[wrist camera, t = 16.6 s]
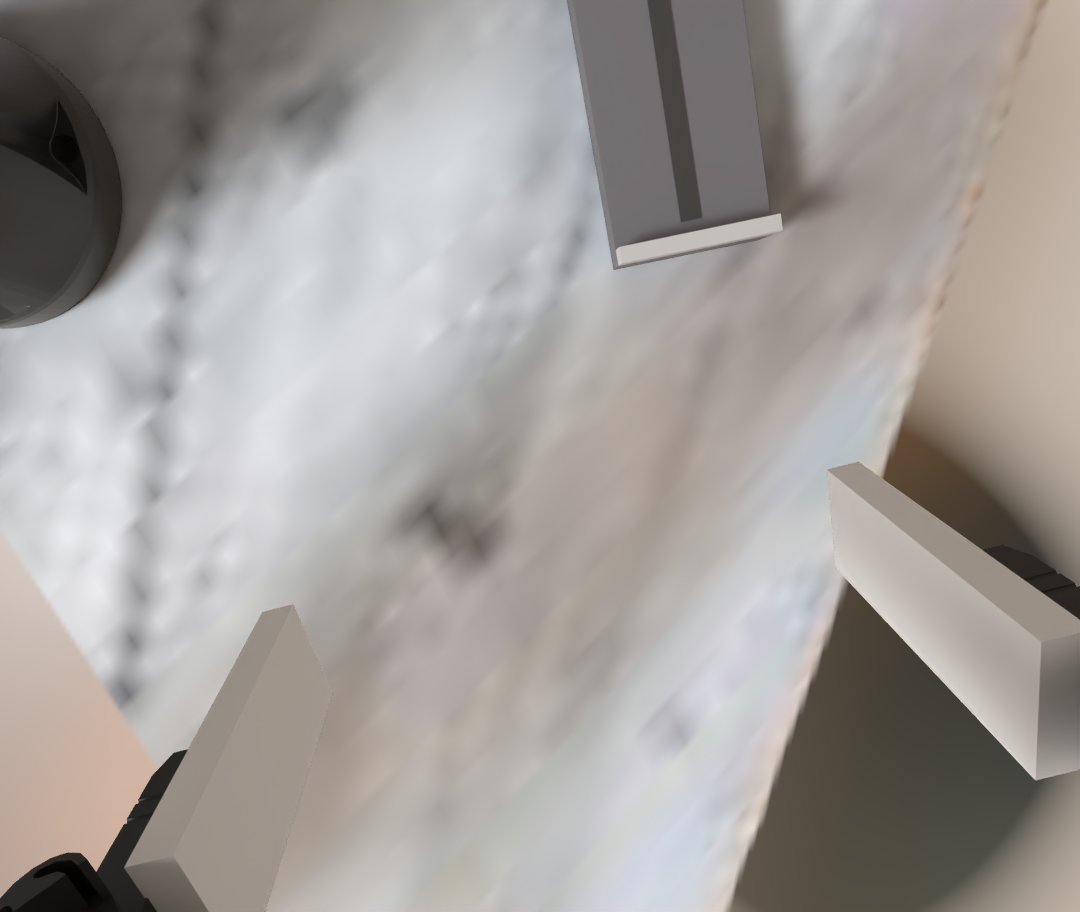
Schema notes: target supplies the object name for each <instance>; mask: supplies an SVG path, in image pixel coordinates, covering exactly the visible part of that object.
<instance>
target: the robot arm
mask: <svg viewBox="0 0 1080 912" xmlns="http://www.w3.org/2000/svg"><path fill="white" fill-rule="evenodd" d="M121 209H122V200H121V185H120V179H119V173H118V168H117V164H116V160H115V157H114V154H113V151H112V148H111V145H110V143H109V140H108V138H107V136H106V133H105V131H104V129H103V127H102V125H101V123H100V122H99V120H98V118H97V116H96V115H95V113H94V112H93V110H92V109H91V107H90V106H89V104H88V103H87V101H86V100H85V99H84V98H83V96H82V95H81V94H80V93H79V91H78V90H77V89H76V88H75V87H74V86H73V85H72V84H71V83H70V82H69V81H68V80H67V79H66V78H65V77H64V76H63V75H62V74H61V73H60V72H58V71H57V70H56V69H55V68H54V67H52V66H51V65H50V64H48V63H47V62H46V61H44V60H43V59H41V58H40V57H38V56H36V55H35V54H33V53H31V52H29V51H28V50H26V49H24V48H22V47H20V46H18V45H16V44H14V43H12V42H10V41H9V40H7V39H5V38H3V37H1V36H0V328H17V327H25V326H30V325H34V324H37V323H41V322H44V321H46V320H49V319H52V318H54V317H56V316H58V315H60V314H62V313H63V312H65V311H67V310H68V309H70V308H71V307H72V306H74V305H75V304H77V303H78V302H79V301H80V300H81V299H82V298H83V297H84V296H85V295H86V294H87V293H88V292H89V291H90V290H91V289H92V288H93V287H94V285H95V284H96V283H97V281H98V280H99V279H100V277H101V276H102V274H103V272H104V271H105V269H106V267H107V265H108V263H109V261H110V259H111V256H112V254H113V251H114V248H115V245H116V242H117V238H118V233H119V229H120V221H121ZM827 478H828V489H829V500H830V511H831V522H832V533H833V544H834V555H835V565H836V569H837V570H838V571H839V572H840V573H841V574H842V575H843V576H844V577H845V578H846V579H847V580H848V581H849V582H850V583H851V584H852V586H853V587H854V588H855V589H856V590H857V591H858V592H859V593H860V594H861V595H862V596H863V597H864V598H865V599H866V600H867V602H868V603H869V604H870V605H871V606H872V607H873V608H874V609H875V610H876V611H877V612H878V613H879V614H880V615H881V616H882V618H884V620H885V621H886V622H887V623H888V624H889V625H890V626H891V627H892V628H893V629H894V630H895V631H896V632H897V633H898V634H899V635H900V637H901V638H902V639H903V640H904V641H905V642H906V643H907V644H908V645H909V646H910V647H911V648H912V649H913V650H914V652H915V653H916V654H917V655H918V656H919V657H920V658H921V659H922V660H923V661H924V662H925V663H926V664H927V665H928V666H929V667H930V669H931V670H932V671H933V672H934V673H935V674H936V675H937V676H938V677H939V678H940V679H941V680H942V681H943V682H944V683H945V685H947V686H948V688H949V689H950V690H951V691H952V692H953V693H954V694H955V695H956V696H957V697H958V698H959V699H960V700H961V702H962V703H963V704H964V705H965V706H966V707H967V708H968V709H969V710H970V711H971V712H972V713H973V714H974V715H975V716H976V718H978V720H979V721H980V722H981V723H982V724H983V725H984V726H985V727H986V728H987V729H988V730H989V731H990V732H991V733H992V735H993V736H994V737H995V738H996V739H997V740H998V741H999V742H1000V743H1001V744H1002V745H1003V746H1004V747H1005V748H1006V749H1007V750H1008V752H1009V753H1010V754H1011V755H1012V756H1013V757H1014V758H1015V759H1016V760H1017V761H1018V762H1019V763H1020V764H1021V765H1022V766H1023V767H1024V768H1025V770H1026V771H1027V772H1028V773H1029V774H1030V775H1031V776H1032V777H1033V778H1034V779H1035V780H1039V779H1042V778H1047V777H1051V776H1055V775H1059V774H1063V773H1067V772H1072V771H1076V770H1080V586H1079V587H1076V585H1075V583H1074V582H1072V581H1071V580H1069V579H1068V578H1066V577H1065V576H1063V575H1062V574H1057V573H1056V571H1055V570H1054V569H1053V568H1051V567H1049V566H1048V565H1047V564H1045V563H1043V562H1042V561H1040V560H1039V559H1037V558H1036V557H1034V556H1033V555H1030V554H1027V553H1024V552H1021V551H1018V550H1015V549H1013V548H1009V547H1007V546H1004V545H1000V546H996V547H992V548H988V549H984V550H981V549H980V548H978V547H977V546H976V545H974V544H973V543H971V542H970V541H969V540H967V539H966V538H965V537H963V536H961V535H960V534H959V533H958V532H956V531H955V530H953V529H952V528H950V527H949V526H948V525H946V524H945V523H943V522H942V521H940V520H939V519H938V518H936V517H935V516H934V515H932V514H931V513H929V512H928V511H927V510H925V509H924V508H922V507H921V506H919V505H918V504H917V503H915V502H914V501H913V500H911V499H910V498H908V497H907V496H906V495H904V494H903V493H901V492H900V491H899V490H897V489H896V488H894V487H893V486H891V485H890V484H889V483H887V482H886V481H885V480H883V479H882V478H880V477H879V476H878V475H876V474H875V473H873V472H872V471H871V470H869V469H868V468H866V467H865V466H864V465H862V464H861V463H859V462H856V463H852V464H848V465H844V466H840V467H836V468H832V469H828V470H827ZM332 695H333V692H332V689H331V687H330V685H329V683H328V681H327V678H326V676H325V674H324V672H323V670H322V667H321V665H320V663H319V661H318V658H317V656H316V654H315V652H314V650H313V647H312V645H311V643H310V641H309V638H308V636H307V634H306V632H305V630H304V627H303V625H302V623H301V621H300V619H299V616H298V614H297V612H296V610H295V607H294V605H289V606H285V607H281V608H277V609H273V610H269V611H265V612H262V614H261V616H260V618H259V620H258V621H257V623H256V625H255V627H254V629H253V631H252V632H251V634H250V636H249V638H248V640H247V642H246V644H245V645H244V647H243V649H242V651H241V653H240V655H239V656H238V658H237V660H236V662H235V664H234V666H233V668H232V669H231V671H230V673H229V675H228V677H227V679H226V680H225V682H224V684H223V686H222V688H221V690H220V692H219V693H218V695H217V697H216V699H215V701H214V703H213V704H212V706H211V708H210V710H209V712H208V714H207V716H206V717H205V719H204V721H203V723H202V725H201V727H200V728H199V730H198V732H197V734H196V736H195V738H194V739H193V741H192V743H191V745H190V747H189V749H187V750H183V751H179V752H175V753H173V754H172V755H171V756H170V757H169V759H168V760H167V761H166V762H165V763H164V764H163V765H162V766H161V767H160V768H159V769H158V770H157V771H156V772H155V773H154V774H153V776H152V777H151V779H150V780H149V782H148V784H147V786H146V787H145V789H144V791H143V792H142V794H141V796H140V798H139V799H138V801H139V803H138V804H136V805H135V806H134V808H133V810H132V811H131V813H130V815H129V817H128V818H127V824H124V825H123V827H122V829H121V830H120V832H119V834H118V836H117V837H116V839H115V841H114V842H113V844H112V846H111V848H110V849H109V851H108V853H107V854H106V856H105V858H104V860H103V861H102V863H101V865H100V867H99V868H98V870H97V872H96V871H95V870H94V869H93V867H92V866H91V865H90V863H89V861H88V860H87V859H86V858H85V857H84V856H83V855H82V854H81V853H65V854H62V855H59V856H56V857H53V858H50V859H49V860H47V861H45V862H43V863H42V864H40V865H38V866H37V867H35V868H33V869H31V870H30V871H29V872H28V873H26V874H25V875H24V876H23V877H21V878H20V879H19V880H18V881H16V882H15V883H14V884H13V885H12V886H11V887H10V888H9V889H8V890H7V892H6V893H5V894H4V895H3V896H2V897H1V898H0V912H265V910H266V907H267V904H268V901H269V898H270V894H271V891H272V888H273V885H274V881H275V878H276V875H277V872H278V869H279V865H280V862H281V859H282V856H283V853H284V849H285V846H286V843H287V840H288V836H289V833H290V830H291V827H292V824H293V820H294V817H295V814H296V811H297V808H298V804H299V801H300V798H301V795H302V791H303V788H304V785H305V782H306V779H307V775H308V772H309V769H310V766H311V763H312V759H313V756H314V753H315V750H316V746H317V743H318V740H319V737H320V734H321V730H322V727H323V724H324V721H325V718H326V714H327V711H328V708H329V705H330V702H331V698H332Z"/></svg>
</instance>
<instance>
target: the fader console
mask: <svg viewBox="0 0 1080 912" xmlns="http://www.w3.org/2000/svg"><path fill="white" fill-rule="evenodd" d="M567 3H568V8H569V14H570V20H571V26H572V31H573V37H574V43H575V49H576V55H577V60H578V66H579V72H580V78H581V84H582V89H583V95H584V101H585V107H586V112H587V118H588V124H589V130H590V136H591V141H592V147H593V153H594V159H595V165H596V170H597V176H598V182H599V188H600V193H601V199H602V205H603V211H604V217H605V222H606V228H607V234H608V240H609V245H610V251H611V257H612V263H613V269H614V270H615V269H620V268H625V267H630V266H635V265H639V264H644V263H649V262H654V261H659V260H664V259H669V258H673V257H678V256H683V255H688V254H693V253H698V252H702V251H707V250H712V249H717V248H722V247H727V246H732V245H736V244H741V243H746V242H751V241H756V240H759V239H762V238H764V237H767V236H769V235H772V234H775V233H777V232H780V231H782V230H783V227H782V219H781V213H780V214H776V215H771V216H770V209H769V201H768V194H767V186H766V178H765V170H764V162H763V154H762V147H761V139H760V131H759V123H758V115H757V108H756V100H755V92H754V84H753V76H752V68H751V61H750V53H749V45H748V37H747V29H746V22H745V14H744V6H743V0H567Z"/></svg>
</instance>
